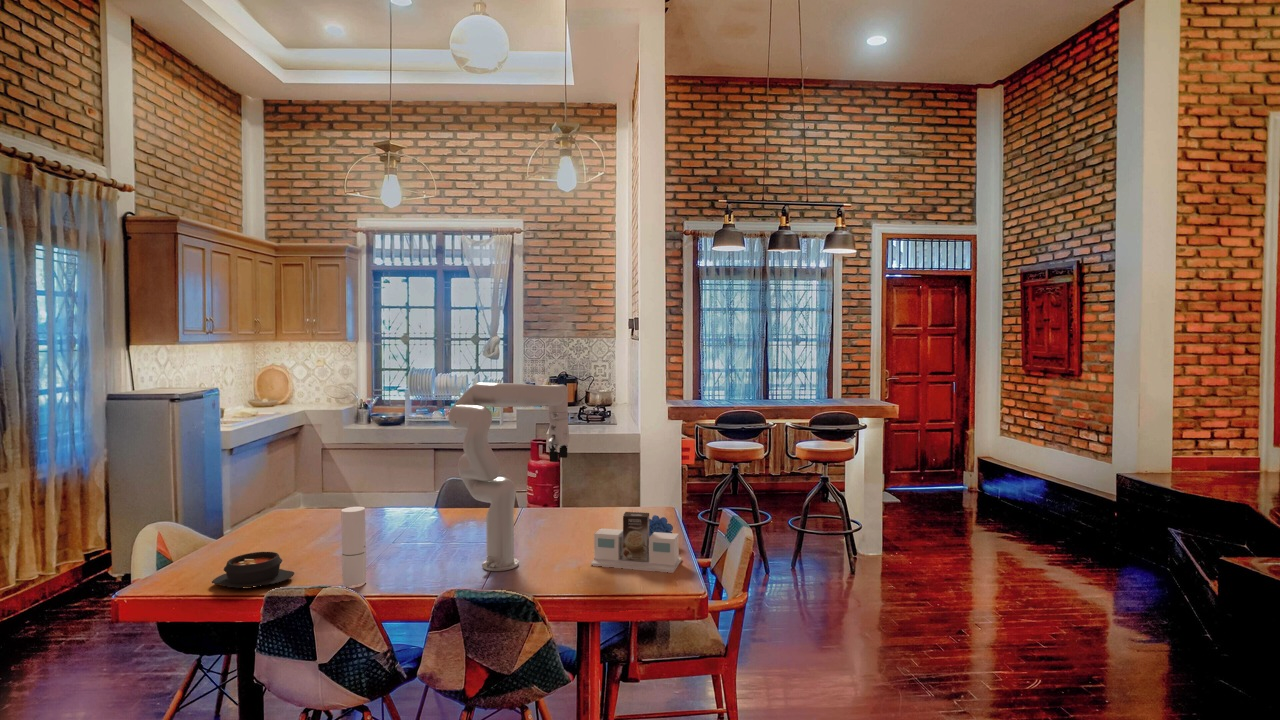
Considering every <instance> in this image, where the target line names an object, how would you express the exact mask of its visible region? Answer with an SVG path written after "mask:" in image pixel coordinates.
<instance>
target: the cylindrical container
mask: <svg viewBox="0 0 1280 720" xmlns="http://www.w3.org/2000/svg"><path fill="white" fill-rule="evenodd" d="M340 513H341V519H340V521H341V556H342V557H341V562H342V564H341V565H342V566H341V567H342V568H341V569H342V587H343V586H347V587H349V586H352V585H358V584H361V583H364V582H365V581H366V582H367V552H366V507H364V506H348V507H345V508H342V509H341V511H340ZM343 584H344V585H343Z"/></svg>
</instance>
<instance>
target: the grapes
mask: <svg viewBox="0 0 1280 720" xmlns="http://www.w3.org/2000/svg"><path fill="white" fill-rule="evenodd" d="M673 529H674V526H673V524H671V523H670V522H669V523H668V518H666V517H663V516H661V517H659V516H658V515H656V514H654V515H652V517H651V518H649V537H650V536H651V535H652V534H653V533H654V532H660V533H673V532H672V531H673Z"/></svg>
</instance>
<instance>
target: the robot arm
mask: <svg viewBox="0 0 1280 720" xmlns="http://www.w3.org/2000/svg"><path fill="white" fill-rule="evenodd" d="M568 391H569V390H568V387H567V385H565V384H551V385H550V384H549V385H548V384H547V385H540V384H539V385H537V384H529V383H528V384H527V383H518V382H517V383H510V382H509V383H507V382H477V383H474V384H473V385H472V386H471V387H469V388H468V389H467V390H466V391H465V392H464V393H463V394H462V395H461V397H459V399H458V400H457V401H456V402H455V403H454V404H453V405H452V406H451V408H450V410H449V412H448V422H449V424H450V425H451V427H453V428H455V429H458V430H466V433H465V435H464V439H463V443H462V447H463V448H462V449H463V452H464V453H463V454H462V455H461V456H460V457H459V459H458V460H457V461H458V462H457V471H458V474H459V475H458V476H459V477H460V478H461V480H462V482H463V484H464V485H465V487H466V489H467V491H468V492H469V494H470V496H471V497H472V498H473V499H474V500H476V501H479V502H483V503H488V504H490V506H489V508H488V511H487V513H486V517H485V519H486V520H485V521H486V525H485V527H486V560H485V561H483V562H482V564H481V567H482V569H484V570H486V571H489V572H505V571H510V570H513V569H515V568H517V567H519V563H520V561H519V560H518V559H517V558H515V533H514V532H515V528H514V526H515V523H514V522H515V520H514V512H515V511H514V510H515V502H516V496H517V487H516V483H515V482H513V480H511V479H510V478H508V477H503V476H500V474H501V464H500V463H499V460H498V459H497V457H496V455H495V453H494V451H493V450H492V449H493V448H492V447H491V446H490V444H489V441H488V437H489V436H488V434H489V430H490V428H491V425H492V421H493V415H492V412H491V410H490V409H489V408H488V407H490V408H509V407H511V408H515V407H516V408H518V407H519V408H527V407H548V421H549V429H548V442H547V444H548V452H549V462H551V463H557V462H558V461H559V458H563V459H567V458H568V444H569V442H570V433H569V430H570V429H569V423H568V422H569V420H568V419H569V409H568V407H569V405H568V401H569V399H568V395H569V394H568ZM558 449H559V450H558ZM558 451H559V453H558Z"/></svg>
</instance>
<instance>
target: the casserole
mask: <svg viewBox="0 0 1280 720" xmlns="http://www.w3.org/2000/svg"><path fill="white" fill-rule="evenodd" d="M282 563H283V558H282V557H280V555H279V554H278V553H277V552H274V551H257V552H250V553H244V554H240V555H238V556H235V557H232V558H230V559H229V560H228V561H227V562H226V565H225V566H224V567H223V571H224V572H225V573H223V574H221V575H220V574H219V575H218V576H216V577H215V578H214V579H212V581H211V583H212V584H213V583H215V584H214V585H217V584H221V585H220V586H223V585H224V586H223V587H225V586H227V587H226V588H230V587H236V588H235V589H239V588H243V587H253V586H260V585H264V586H269V584H271V585H276V584H275V583H277V584H279V582H280V583H283V582H285V581H287V580H289V579H291V578H292V577H294V575H295V572H294V571H292V570H286V569H282V568H280V567H281V564H282ZM282 581H283V582H282ZM260 587H261V586H260Z"/></svg>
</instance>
